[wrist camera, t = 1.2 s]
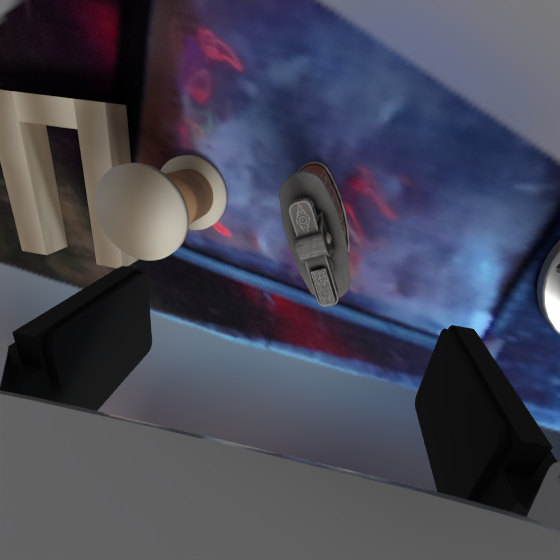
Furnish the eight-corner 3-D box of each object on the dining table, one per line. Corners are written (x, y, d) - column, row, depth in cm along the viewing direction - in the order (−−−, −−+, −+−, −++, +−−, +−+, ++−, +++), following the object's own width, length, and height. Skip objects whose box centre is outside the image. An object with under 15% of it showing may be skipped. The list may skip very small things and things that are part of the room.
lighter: (288, 169, 25) (256, 190, 16) (331, 154, 24) (322, 168, 15) (317, 263, 28) (303, 325, 19) (356, 253, 27) (362, 314, 18)
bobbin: (229, 160, 26) (184, 171, 19) (226, 233, 28) (185, 267, 21) (158, 150, 26) (88, 157, 19) (161, 222, 29) (100, 252, 22)
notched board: (126, 105, 25) (105, 102, 23) (138, 259, 31) (122, 269, 29) (12, 91, 27) (-18, 87, 24) (44, 242, 32) (22, 250, 30)
